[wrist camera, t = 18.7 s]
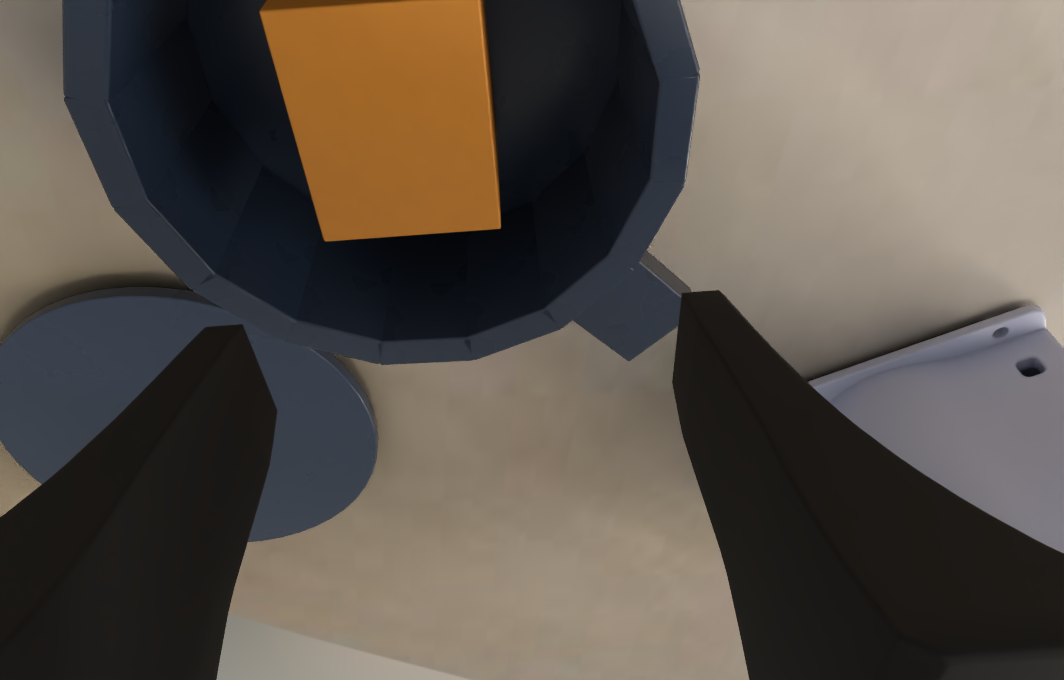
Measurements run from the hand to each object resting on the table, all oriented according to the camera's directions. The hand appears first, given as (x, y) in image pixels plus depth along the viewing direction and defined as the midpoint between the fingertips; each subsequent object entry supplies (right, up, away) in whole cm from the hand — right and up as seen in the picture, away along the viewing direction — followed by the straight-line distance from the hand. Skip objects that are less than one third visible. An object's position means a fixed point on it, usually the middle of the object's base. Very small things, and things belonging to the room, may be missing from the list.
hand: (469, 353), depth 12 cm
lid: (-11, -3, +14) cm, 18 cm away
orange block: (-2, +7, +6) cm, 10 cm away
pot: (-2, +8, +6) cm, 10 cm away
